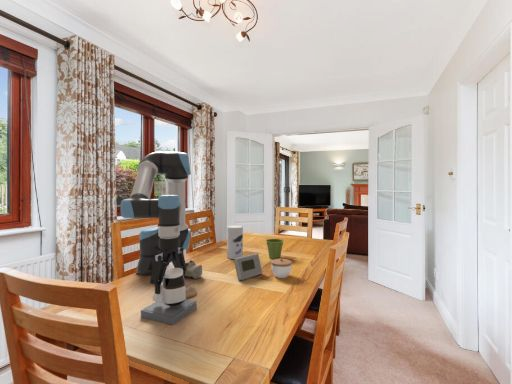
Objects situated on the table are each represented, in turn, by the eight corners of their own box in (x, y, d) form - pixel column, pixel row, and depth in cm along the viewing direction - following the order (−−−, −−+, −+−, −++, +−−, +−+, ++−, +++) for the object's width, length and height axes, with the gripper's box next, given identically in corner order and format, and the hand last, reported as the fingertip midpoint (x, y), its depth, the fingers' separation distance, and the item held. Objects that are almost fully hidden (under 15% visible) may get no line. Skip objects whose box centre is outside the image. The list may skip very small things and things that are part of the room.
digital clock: (238, 281, 134) (238, 260, 134) (230, 276, 142) (230, 255, 141) (266, 276, 142) (266, 255, 142) (257, 271, 150) (257, 252, 150)
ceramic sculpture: (193, 264, 132) (171, 261, 140) (194, 282, 132) (172, 278, 140) (208, 259, 142) (186, 257, 149) (208, 276, 142) (187, 272, 149)
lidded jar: (294, 274, 145) (294, 257, 144) (287, 281, 135) (288, 262, 135) (275, 271, 149) (275, 254, 149) (267, 277, 140) (267, 259, 139)
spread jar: (188, 305, 98) (186, 274, 97) (154, 313, 94) (152, 280, 92) (181, 291, 109) (180, 263, 108) (151, 297, 104) (149, 268, 103)
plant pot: (287, 257, 179) (287, 239, 178) (278, 261, 169) (278, 243, 168) (271, 254, 185) (271, 237, 185) (262, 258, 175) (262, 240, 175)
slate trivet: (140, 317, 98) (140, 310, 98) (167, 301, 111) (167, 295, 111) (172, 325, 93) (172, 317, 93) (196, 307, 106) (196, 300, 106)
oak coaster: (167, 296, 116) (167, 294, 116) (182, 288, 125) (182, 286, 125) (187, 300, 112) (187, 298, 112) (201, 291, 122) (201, 289, 122)
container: (236, 260, 171) (236, 228, 170) (224, 257, 176) (224, 226, 175) (245, 256, 179) (245, 226, 178) (233, 254, 184) (233, 224, 184)
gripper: (155, 243, 89) (156, 311, 90) (195, 232, 110) (195, 287, 111) (137, 241, 92) (138, 307, 93) (180, 231, 113) (180, 284, 114)
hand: (169, 296), depth 102 cm, fingers closed on spread jar, 10 cm apart
